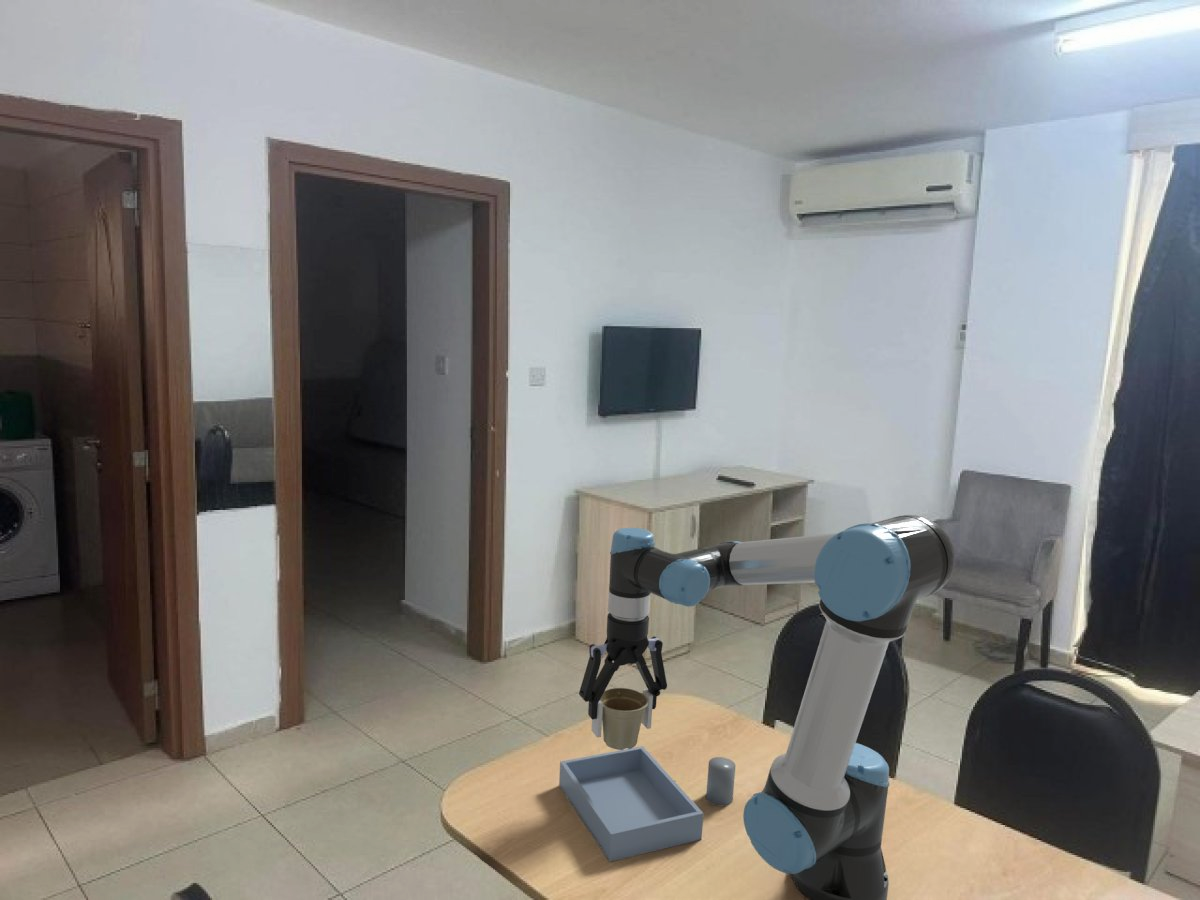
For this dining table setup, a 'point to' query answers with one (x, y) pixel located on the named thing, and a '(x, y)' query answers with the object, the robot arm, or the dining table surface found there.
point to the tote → (629, 803)
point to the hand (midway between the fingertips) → (621, 729)
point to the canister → (720, 781)
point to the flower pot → (622, 716)
